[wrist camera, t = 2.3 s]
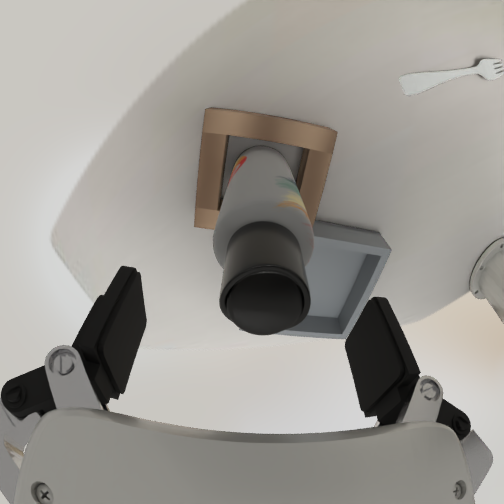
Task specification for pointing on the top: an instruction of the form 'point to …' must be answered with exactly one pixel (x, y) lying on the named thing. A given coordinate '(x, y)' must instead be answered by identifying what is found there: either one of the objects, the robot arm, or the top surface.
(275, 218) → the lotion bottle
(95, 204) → the top surface
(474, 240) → the top surface
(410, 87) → the fork
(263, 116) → the socket stand
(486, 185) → the top surface
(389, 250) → the tray
